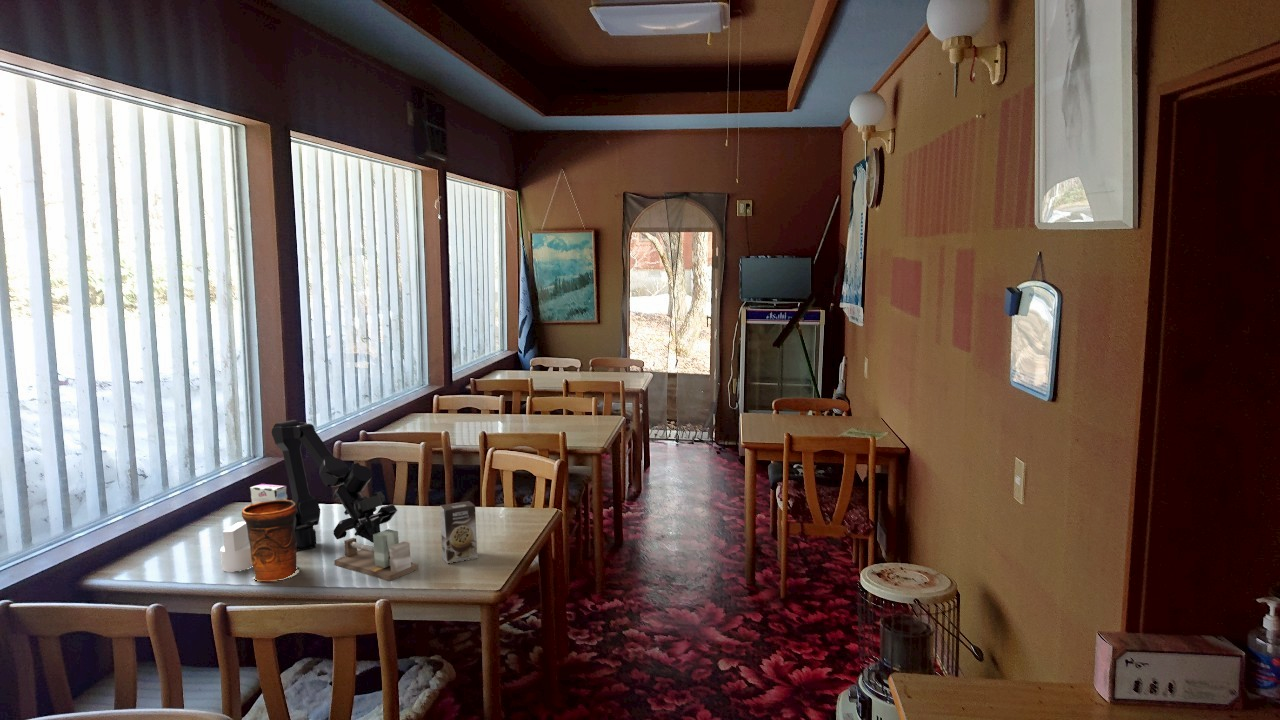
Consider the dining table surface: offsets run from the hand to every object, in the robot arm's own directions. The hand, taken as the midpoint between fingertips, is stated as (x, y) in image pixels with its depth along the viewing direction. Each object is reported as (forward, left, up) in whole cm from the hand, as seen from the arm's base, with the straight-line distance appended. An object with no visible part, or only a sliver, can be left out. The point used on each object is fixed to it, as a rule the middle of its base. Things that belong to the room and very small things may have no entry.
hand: (381, 544), depth 230 cm
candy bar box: (-26, +49, -7) cm, 56 cm away
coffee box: (+22, -3, -7) cm, 23 cm away
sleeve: (+1, -2, -5) cm, 6 cm away
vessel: (-27, +12, -7) cm, 31 cm away
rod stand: (-1, +3, -7) cm, 8 cm away
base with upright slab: (-36, +24, -7) cm, 44 cm away
